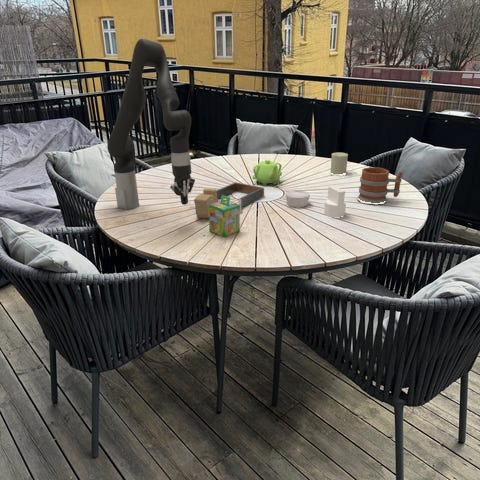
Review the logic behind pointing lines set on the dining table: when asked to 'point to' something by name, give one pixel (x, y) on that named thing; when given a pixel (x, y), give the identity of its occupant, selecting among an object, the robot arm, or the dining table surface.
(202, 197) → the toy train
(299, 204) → the ramekin
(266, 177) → the teapot
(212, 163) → the dining table surface
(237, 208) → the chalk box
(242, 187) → the bay
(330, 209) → the white stepped block
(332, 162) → the can
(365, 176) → the mug
